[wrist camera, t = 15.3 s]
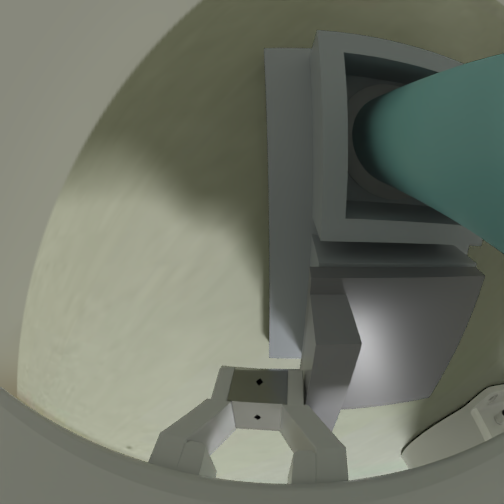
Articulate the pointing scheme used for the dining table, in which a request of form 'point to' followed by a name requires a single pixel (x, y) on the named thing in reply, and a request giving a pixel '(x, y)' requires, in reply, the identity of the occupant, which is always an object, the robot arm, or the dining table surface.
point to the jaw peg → (443, 144)
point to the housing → (340, 175)
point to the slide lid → (381, 333)
